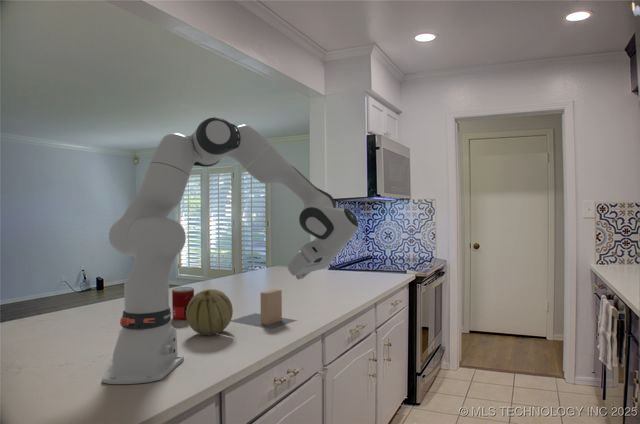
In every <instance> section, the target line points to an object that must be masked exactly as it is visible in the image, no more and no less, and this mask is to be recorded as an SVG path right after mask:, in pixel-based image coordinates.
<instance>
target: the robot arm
mask: <svg viewBox="0 0 640 424" xmlns="http://www.w3.org/2000/svg"><path fill="white" fill-rule="evenodd" d="M225 157H230V158H231V159H232V158H233V160H235V161H237V162H238V163H239V164H240V165H241V166H242V167H243V169H244V170H246V171H247V173H248V174H249V175H250V176H251V177H252V178H254V179H255V180H256V181H258V182H260V183H262V184H276V183H277V184H281V185H284V186H286V188H288V189H289V190H290V191H291V192H293V193H294V195H296V196H297V197H298V198H299V199H301V201H302V203H303V205H304V206H303V208H302V210H301V211H300V215H299V217H298V219H299V220H298V222H299V225H300V227H301V228H302V230H303V231H305V232H306V233H308V234H309V235H311V236H313V237H315V238H313V239H312V240H311V241H309V242H307V243H305V244H302V245H301V247H300V248H299V252H297V253H296V254H295V255H294V257H293V258H292V259H291V260H290V262H289V263H288V266H287V270H288V271H289V273H290V274H291V275H292V276H293V277H295V278H296V279H297V280H302V279H304V278H306V276H308V275H309V274H311V273H312V272H315V271H320V270H325V269H326V268H328V266H330V264H331V263H332V262H334V260H335V258H336V257H337V255H338V254H339V253H340V251H341V249H342V247H344V246H346V245H347V244H348V243H349V242H350V241H351V239H352V238H353V237H354V236H355V234H356V233H357V231H358V229H359V221H358V218H357V216H356V215H355V214H354V213H353V211H352V210H351V209H348V208H347V207H344V208H339V207H337V205H336V201H335V199H334V197H333V196H332V195H331V194H330V193H328V192H326V191H324V190H323V189H320V188H319V187H317V186H315V184H313V183H312V182H311V181H310V180H308V178H306V177H305V176H304V175H303V174H302V173H301V172H300V171H299V170H298V169H297V168H296V167H295V166H293V165H292V164H291V163H290V162H288V160H287V159H285V158H284V156H282V154H281V153H280V152H279V151H278V150H277V149H276V148H275V147H274V145H272V144H271V143H270V141H269V140H267V139H266V138H265V137H264V136H263V134H261V133H259V132H258V131H257V130H255V129H254V128H253V127H251V126H250V125H247V124H241V125H238V126H237V125H236V124H234V123H231V122H229V121H228V120H226V119H224V118H222V117H217V116H212V117H208V118H206V119H204V120H203V121H202V122H200V123H199V125H198V126H197V128H196V129H195V131H193V133H191V135H183V134H181V133H168V134H166V135H165V136H163V138H161V140H160V142H159V143H158V146H157V147H156V148H155V151H154V152H153V154H152V157H151V158H150V162H149V164H148V167H147V169H146V173H145V175H144V178H143V179H142V180H143V181H142V183H141V185H140V187H139V190H138V191H137V194H136V195H135V197H134V198H133V200H132V202H131V203H130V204H129V206H128V208H127V209H126V210H125V212H124V213H123V215H122V216H121V217H120V218H119V219H118V220H117V221H115V222H114V223H113V224H112V226H111V227H110V230H109V232H108V240H109V244H110V245H111V246H112V248H113V249H114V250H115V251H117V252H119V253H121V254H123V255H125V256H128V257H129V256H130V257H134V260H133V263H132V264H133V265H132V269H131V271H130V273H129V275H128V276H127V278H126V279H125V281H124V284H123V285H124V288H123V289H124V290H123V292H124V294H123V295H124V309H123V310H122V315H121V318H120V320H119V323H120V326H121V327H122V328H121V329H120V330H119V332H118V336H117V340H116V342H115V347H114V350H113V354H112V358H111V359H110V360H109V363H108V364H107V367H106V370H105V372H104V373H103V375H102V378H101V382H102V383H103V384H111V385H135V384H143V383H152V382H157V381H161V380H162V379H164V378H165V377H166V376H167V375H168V374H169V373H171V372H172V371H173V370H174V369H176V367H178V366H179V365H180V364H181V363H182V362H184V360H185V357H184V355H182V354H179V352H178V335H177V328H175V327H174V326H173V325H172V324H171V316H172V312H171V307H170V306H169V305H170V304H169V303H170V301H169V296H170V295H169V294H170V290H169V289H170V275H171V272H172V268H173V264H174V262H175V259H176V257H177V256H178V255H179V254H180V253H181V252H182V250H183V249H184V247H185V244H186V239H187V236H186V231H185V228H184V227H183V225H181V223H179V221H176V220H175V219H171V218H169V217H168V216H169V215H170V213H172V211H173V210H175V209H176V208H177V207H179V205H180V204H181V202H182V199H183V196H184V193H185V190H186V187H187V184H188V181H189V179H190V175H191V172H192V169H193V167H194V166H197V167H203V168H204V167H206V168H207V167H208V168H209V167H212V166H215V165H217V164H218V163H219V162H220V161H221V160H223V159H224V158H225Z"/></svg>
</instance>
